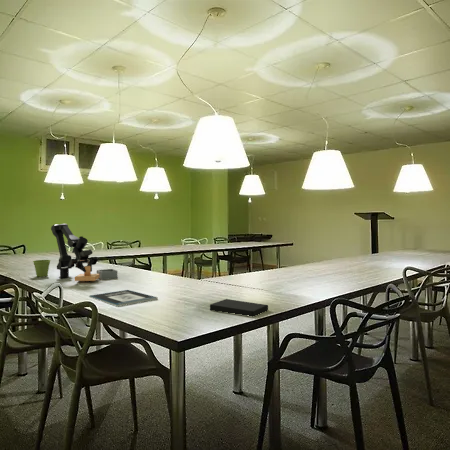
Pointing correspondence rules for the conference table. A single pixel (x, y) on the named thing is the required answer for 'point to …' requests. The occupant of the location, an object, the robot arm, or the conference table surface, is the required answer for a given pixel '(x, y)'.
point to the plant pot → (41, 267)
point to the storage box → (107, 274)
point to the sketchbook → (123, 297)
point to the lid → (87, 275)
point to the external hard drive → (239, 307)
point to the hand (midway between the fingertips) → (88, 271)
